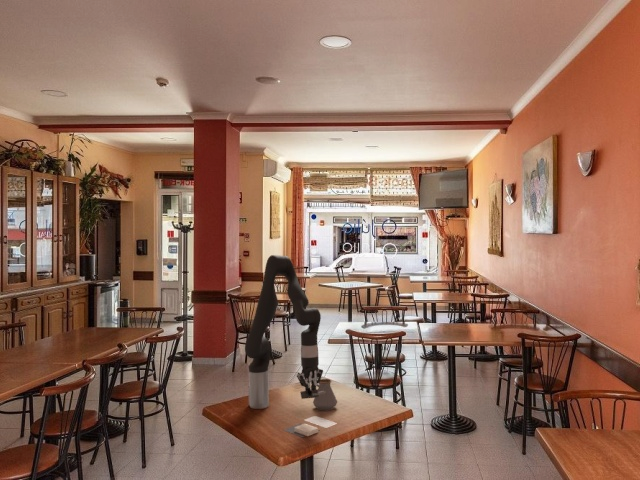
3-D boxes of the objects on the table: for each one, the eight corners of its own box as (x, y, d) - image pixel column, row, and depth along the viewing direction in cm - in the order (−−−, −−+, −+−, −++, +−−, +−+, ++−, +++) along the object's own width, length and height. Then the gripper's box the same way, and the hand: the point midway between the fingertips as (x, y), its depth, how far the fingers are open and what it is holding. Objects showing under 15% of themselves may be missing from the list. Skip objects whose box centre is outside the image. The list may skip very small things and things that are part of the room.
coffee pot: (341, 406, 247) (341, 374, 246) (329, 413, 237) (328, 381, 236) (304, 399, 258) (303, 369, 257) (291, 406, 248) (290, 375, 248)
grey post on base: (300, 399, 225) (298, 392, 225) (307, 397, 228) (305, 390, 228) (319, 397, 216) (318, 390, 216) (326, 395, 218) (325, 388, 219)
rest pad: (303, 421, 228) (303, 420, 228) (315, 417, 233) (315, 415, 233) (326, 429, 218) (326, 428, 218) (337, 424, 223) (337, 423, 223)
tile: (294, 427, 215) (307, 432, 209) (305, 423, 219) (318, 428, 213) (294, 431, 215) (307, 436, 209) (305, 427, 219) (318, 432, 213)
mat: (283, 431, 217) (283, 429, 217) (300, 424, 224) (300, 423, 224) (302, 439, 208) (302, 437, 208) (320, 431, 215) (320, 430, 215)
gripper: (315, 350, 230) (316, 389, 230) (291, 356, 221) (292, 396, 221) (327, 353, 224) (328, 392, 225) (303, 359, 215) (304, 400, 215)
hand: (310, 394), depth 223 cm, fingers closed on grey post on base, 2 cm apart
